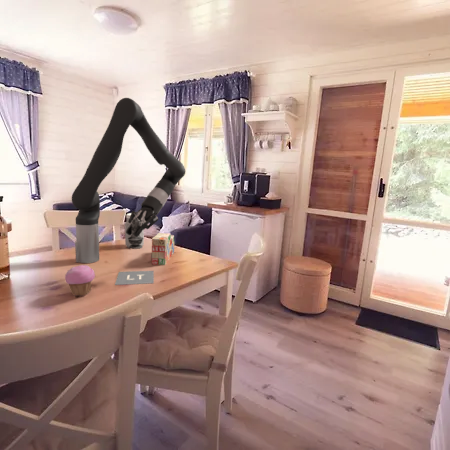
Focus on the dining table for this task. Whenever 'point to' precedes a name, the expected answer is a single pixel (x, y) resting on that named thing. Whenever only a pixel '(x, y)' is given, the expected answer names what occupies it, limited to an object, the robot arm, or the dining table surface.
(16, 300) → the dining table surface
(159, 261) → the stack of blocks
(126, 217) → the jar
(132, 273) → the mat
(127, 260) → the dining table surface
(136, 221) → the grey chess piece
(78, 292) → the cupcake
